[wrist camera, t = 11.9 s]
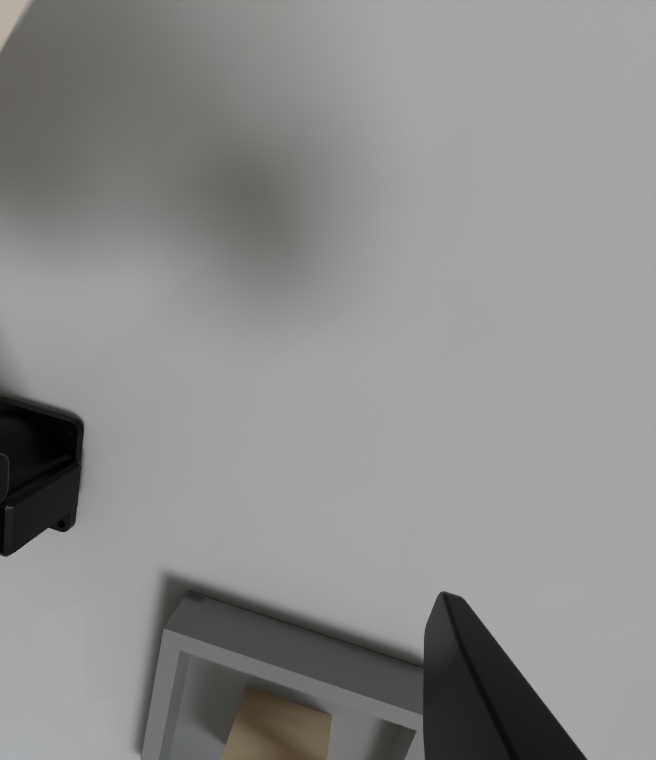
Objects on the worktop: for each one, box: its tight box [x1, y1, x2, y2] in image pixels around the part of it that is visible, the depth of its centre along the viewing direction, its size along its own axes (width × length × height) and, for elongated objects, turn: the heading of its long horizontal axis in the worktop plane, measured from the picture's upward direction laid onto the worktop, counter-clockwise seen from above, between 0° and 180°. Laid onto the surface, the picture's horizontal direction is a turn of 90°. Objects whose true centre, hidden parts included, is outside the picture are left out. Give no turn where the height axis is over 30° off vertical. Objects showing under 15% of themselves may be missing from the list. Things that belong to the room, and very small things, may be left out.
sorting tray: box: [141, 591, 425, 760], centre depth 22 cm, size 14×14×2 cm
